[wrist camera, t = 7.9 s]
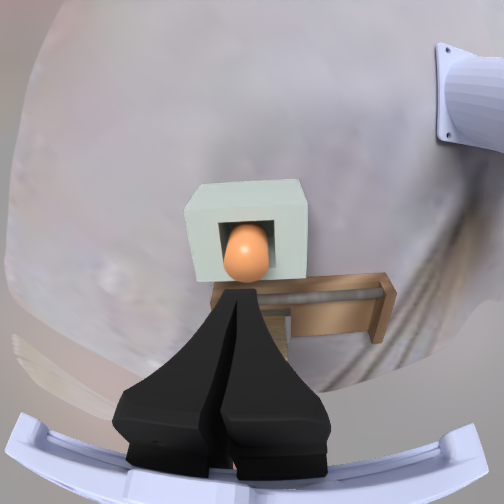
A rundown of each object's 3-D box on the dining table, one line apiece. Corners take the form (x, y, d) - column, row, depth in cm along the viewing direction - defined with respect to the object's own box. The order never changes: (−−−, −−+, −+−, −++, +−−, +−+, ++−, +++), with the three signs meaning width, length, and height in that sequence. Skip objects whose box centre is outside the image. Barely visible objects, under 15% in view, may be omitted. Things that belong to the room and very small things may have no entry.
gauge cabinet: (298, 178, 20) (307, 203, 16) (298, 243, 23) (305, 281, 18) (200, 184, 20) (183, 210, 16) (209, 247, 23) (197, 284, 19)
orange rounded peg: (267, 219, 17) (267, 243, 15) (268, 253, 19) (269, 282, 16) (227, 221, 18) (220, 245, 15) (231, 255, 19) (226, 283, 16)
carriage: (290, 307, 24) (294, 357, 19) (289, 336, 26) (293, 384, 21) (235, 309, 24) (229, 358, 20) (239, 337, 26) (235, 385, 21)
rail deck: (385, 272, 24) (397, 293, 21) (373, 321, 27) (381, 342, 24) (215, 280, 25) (210, 303, 22) (224, 329, 28) (220, 352, 25)
